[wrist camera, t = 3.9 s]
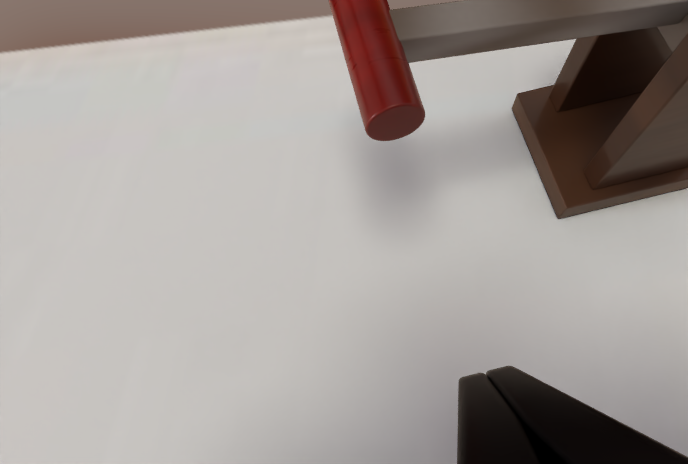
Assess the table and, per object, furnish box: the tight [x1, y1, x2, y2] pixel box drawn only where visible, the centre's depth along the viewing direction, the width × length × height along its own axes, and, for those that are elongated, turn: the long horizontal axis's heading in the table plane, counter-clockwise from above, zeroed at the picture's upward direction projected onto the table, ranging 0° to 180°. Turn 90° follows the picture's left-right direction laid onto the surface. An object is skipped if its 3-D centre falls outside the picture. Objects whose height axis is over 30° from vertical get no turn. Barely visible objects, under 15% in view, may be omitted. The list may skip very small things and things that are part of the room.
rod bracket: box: [512, 27, 688, 219], centre depth 19 cm, size 7×6×11 cm
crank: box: [329, 0, 688, 141], centre depth 15 cm, size 13×6×2 cm, turn 103°
